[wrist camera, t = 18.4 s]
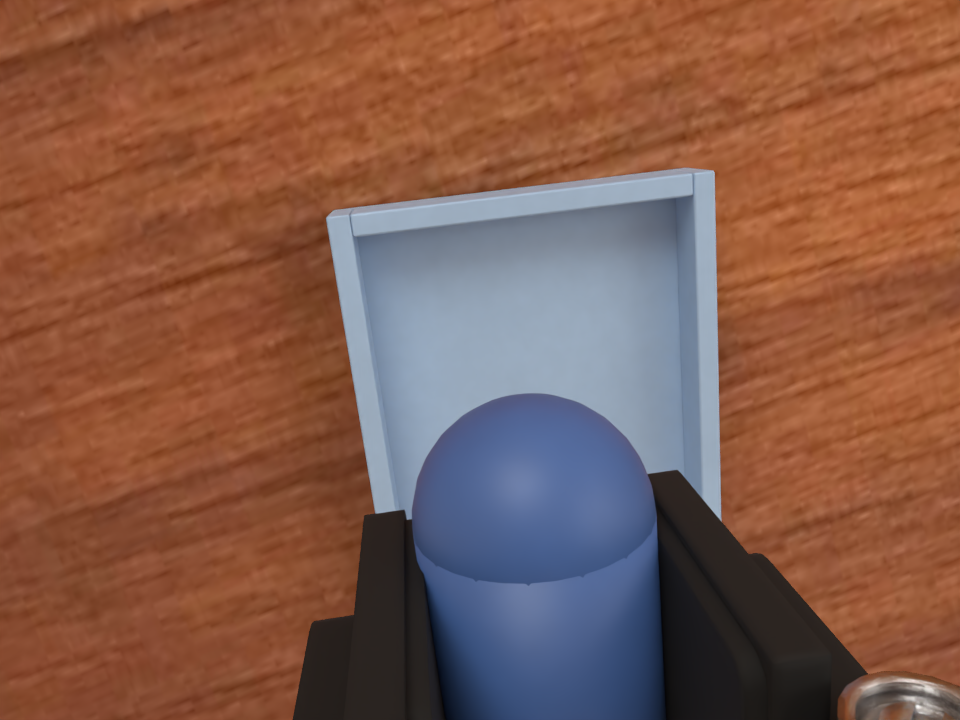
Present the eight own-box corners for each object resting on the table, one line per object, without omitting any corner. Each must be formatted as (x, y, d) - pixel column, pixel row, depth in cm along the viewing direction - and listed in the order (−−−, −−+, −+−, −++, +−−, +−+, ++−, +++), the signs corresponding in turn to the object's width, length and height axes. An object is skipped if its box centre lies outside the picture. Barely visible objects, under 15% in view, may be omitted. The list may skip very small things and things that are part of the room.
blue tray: (411, 690, 26) (412, 734, 24) (331, 210, 21) (325, 217, 19) (701, 642, 26) (725, 682, 25) (687, 167, 22) (715, 170, 20)
